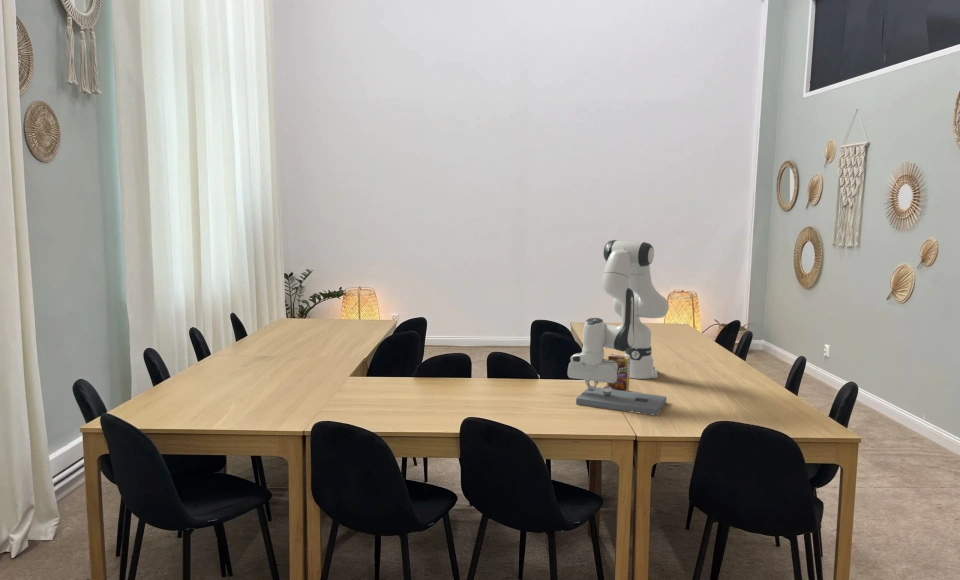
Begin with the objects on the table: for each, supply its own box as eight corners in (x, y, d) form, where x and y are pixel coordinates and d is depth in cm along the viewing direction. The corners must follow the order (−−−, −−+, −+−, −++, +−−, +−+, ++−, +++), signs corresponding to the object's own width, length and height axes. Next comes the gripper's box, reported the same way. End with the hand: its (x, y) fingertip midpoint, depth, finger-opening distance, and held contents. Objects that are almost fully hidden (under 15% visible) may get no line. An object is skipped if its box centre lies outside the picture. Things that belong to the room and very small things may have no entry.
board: (589, 392, 289) (589, 386, 289) (666, 402, 276) (666, 396, 275) (576, 404, 271) (576, 398, 271) (656, 415, 258) (657, 409, 257)
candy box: (606, 389, 293) (607, 355, 291) (609, 387, 297) (611, 353, 295) (626, 393, 289) (627, 358, 287) (629, 390, 293) (630, 356, 291)
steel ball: (603, 393, 278) (603, 384, 278) (613, 394, 277) (613, 385, 276) (601, 395, 275) (601, 386, 274) (610, 397, 273) (611, 387, 272)
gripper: (619, 359, 275) (618, 392, 277) (571, 353, 284) (570, 385, 285) (615, 362, 269) (614, 396, 271) (566, 356, 278) (565, 389, 280)
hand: (591, 390), depth 278 cm, fingers closed
